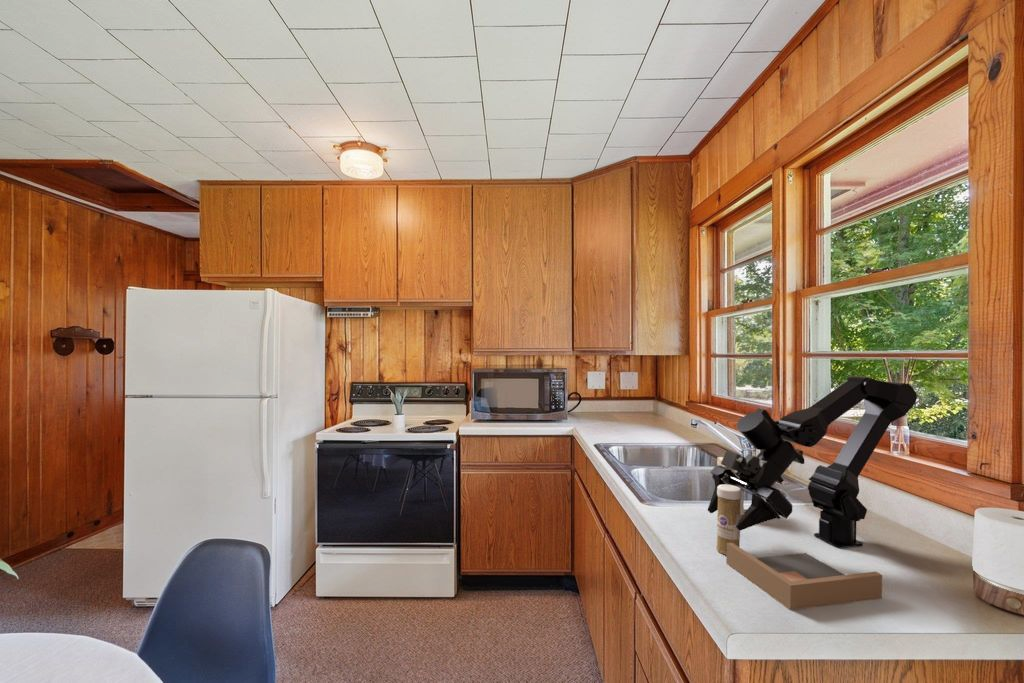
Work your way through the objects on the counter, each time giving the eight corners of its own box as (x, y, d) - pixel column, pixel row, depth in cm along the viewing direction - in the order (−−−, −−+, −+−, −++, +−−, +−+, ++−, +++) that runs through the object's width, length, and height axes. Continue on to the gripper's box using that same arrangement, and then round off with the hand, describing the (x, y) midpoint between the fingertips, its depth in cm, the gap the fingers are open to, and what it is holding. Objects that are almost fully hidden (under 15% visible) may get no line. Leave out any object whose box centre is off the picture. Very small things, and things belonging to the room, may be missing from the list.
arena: (805, 555, 98) (805, 535, 98) (881, 598, 82) (882, 574, 82) (726, 563, 94) (726, 543, 94) (790, 609, 78) (790, 585, 78)
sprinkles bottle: (713, 552, 99) (714, 487, 99) (720, 544, 102) (721, 482, 102) (737, 558, 96) (737, 492, 96) (743, 551, 99) (744, 486, 99)
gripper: (718, 429, 109) (673, 480, 107) (780, 448, 90) (727, 510, 88) (748, 462, 110) (705, 513, 108) (815, 487, 92) (764, 549, 90)
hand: (722, 519), depth 99 cm, fingers open, 9 cm apart
